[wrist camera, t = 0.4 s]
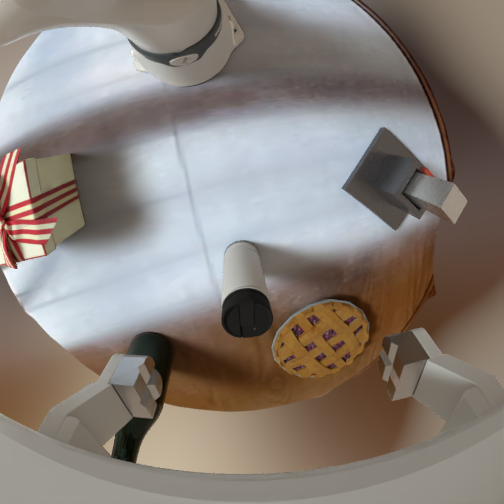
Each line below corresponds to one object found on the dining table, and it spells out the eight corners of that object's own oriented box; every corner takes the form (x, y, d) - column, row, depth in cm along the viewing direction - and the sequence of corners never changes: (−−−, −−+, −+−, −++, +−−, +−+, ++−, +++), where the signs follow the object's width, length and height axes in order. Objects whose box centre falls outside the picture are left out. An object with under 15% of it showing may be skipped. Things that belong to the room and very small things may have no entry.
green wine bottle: (122, 337, 56) (75, 462, 26) (158, 324, 55) (119, 465, 25) (148, 368, 60) (119, 488, 30) (184, 357, 59) (166, 491, 29)
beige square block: (379, 183, 45) (440, 207, 29) (391, 164, 44) (454, 182, 28) (393, 196, 46) (454, 225, 30) (405, 178, 45) (468, 200, 29)
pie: (309, 379, 65) (314, 393, 61) (249, 338, 58) (251, 353, 54) (378, 327, 60) (387, 339, 56) (329, 272, 53) (338, 284, 49)
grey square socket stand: (341, 188, 47) (368, 202, 37) (380, 127, 43) (414, 127, 33) (391, 228, 50) (421, 248, 40) (426, 172, 46) (461, 183, 36)
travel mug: (258, 237, 49) (274, 297, 31) (259, 270, 52) (274, 342, 33) (222, 239, 49) (217, 301, 31) (225, 273, 52) (223, 345, 33)
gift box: (103, 220, 46) (55, 257, 30) (39, 243, 46) (-10, 279, 30) (80, 133, 39) (20, 138, 24) (16, 168, 40) (-40, 186, 24)
